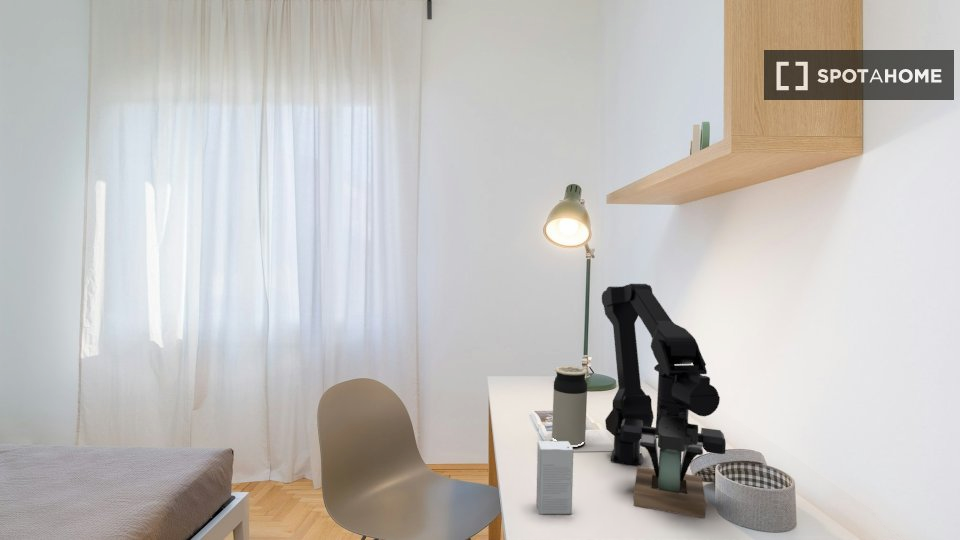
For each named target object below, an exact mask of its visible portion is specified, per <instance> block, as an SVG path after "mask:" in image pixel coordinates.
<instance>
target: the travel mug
mask: <svg viewBox="0 0 960 540" xmlns="http://www.w3.org/2000/svg"><path fill="white" fill-rule="evenodd" d="M554 370H555V372H556V377H555V379H554V381H553V397H552V398H553V400H552V424H551V425H552V426H551V427H552V431H551V438H552V437H553V438H554V439H556V440H557V441H569V443H570V445H578V444H581V443H582V442H584V441H585V442H586V429H587V406H588V405H587V404H588V402H587V401H588V400H587V399H588V382H587V380H586V375H587V371H588V370H587V369H585V368H583V367H579V366H573V365H571V366H570V365H564V366H563V365H561V366H558V367H555V369H554Z"/></svg>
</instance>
